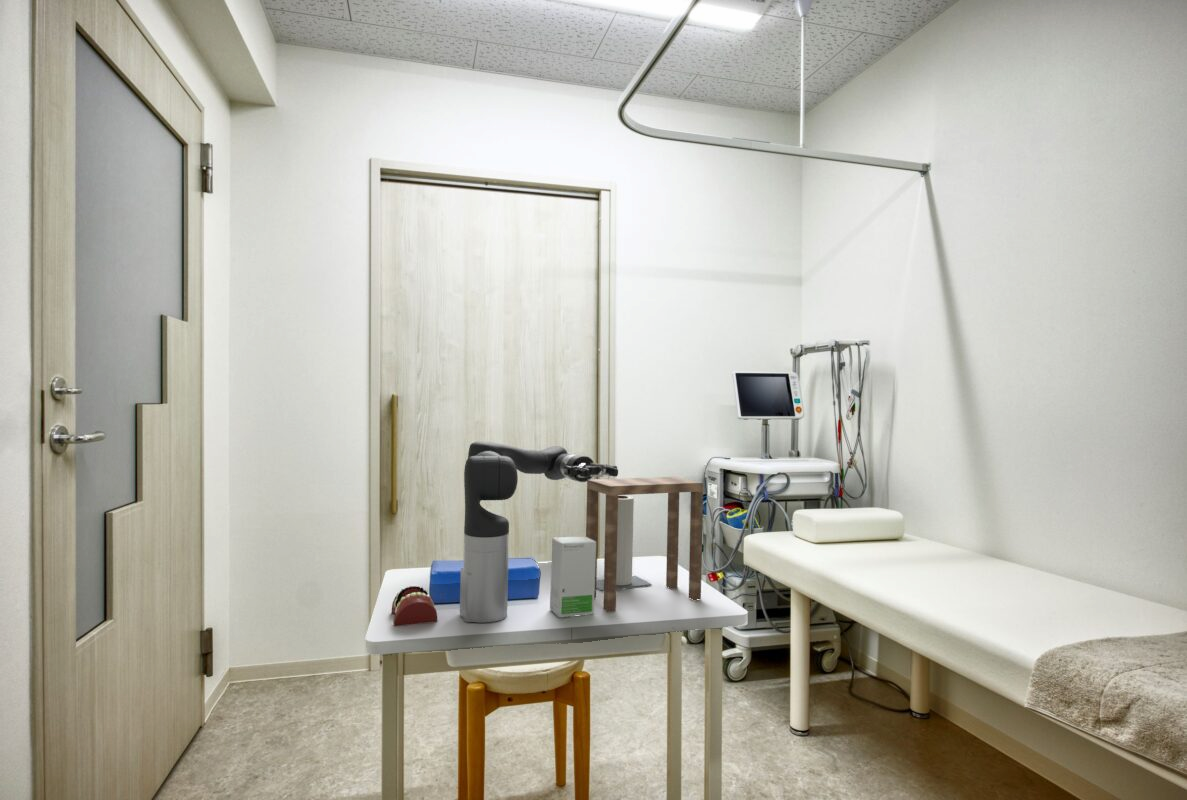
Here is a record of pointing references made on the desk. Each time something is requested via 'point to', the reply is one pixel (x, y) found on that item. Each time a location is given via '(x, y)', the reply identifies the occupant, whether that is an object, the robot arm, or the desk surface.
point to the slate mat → (635, 583)
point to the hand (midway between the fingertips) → (602, 473)
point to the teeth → (413, 607)
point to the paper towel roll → (624, 540)
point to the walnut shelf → (696, 515)
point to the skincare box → (572, 576)
